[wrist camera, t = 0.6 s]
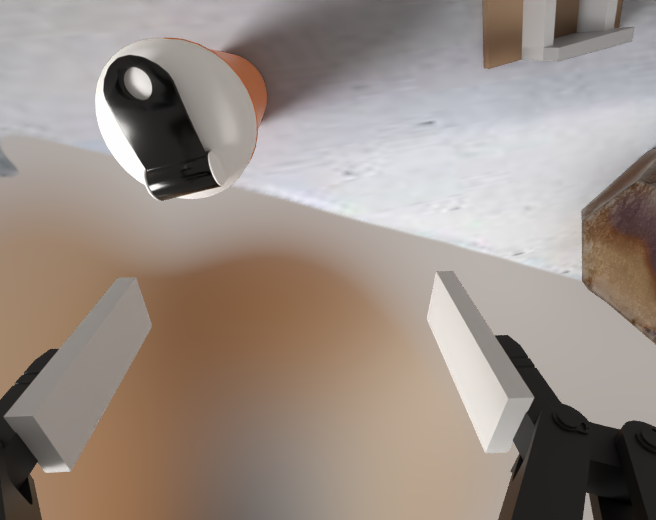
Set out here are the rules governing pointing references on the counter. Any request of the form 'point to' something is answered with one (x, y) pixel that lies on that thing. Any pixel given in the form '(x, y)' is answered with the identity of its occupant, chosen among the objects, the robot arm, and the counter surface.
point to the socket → (588, 38)
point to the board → (521, 28)
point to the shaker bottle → (180, 115)
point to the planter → (624, 245)
